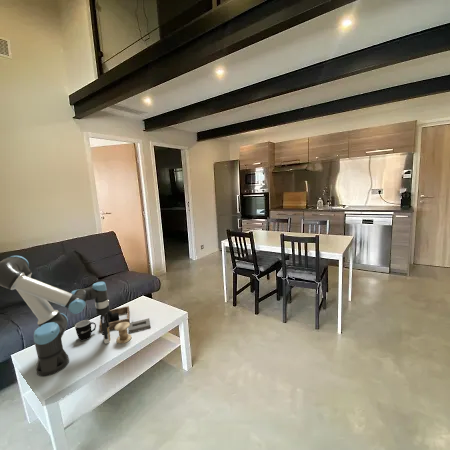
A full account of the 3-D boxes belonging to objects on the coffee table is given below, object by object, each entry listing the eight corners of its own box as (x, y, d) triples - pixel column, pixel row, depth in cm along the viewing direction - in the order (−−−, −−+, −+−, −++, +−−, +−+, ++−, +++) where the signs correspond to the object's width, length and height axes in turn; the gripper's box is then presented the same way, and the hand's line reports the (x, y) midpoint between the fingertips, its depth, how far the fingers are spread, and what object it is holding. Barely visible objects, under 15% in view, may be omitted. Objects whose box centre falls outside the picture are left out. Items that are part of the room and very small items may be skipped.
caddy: (100, 332, 173) (99, 325, 172) (103, 317, 192) (102, 311, 191) (129, 325, 179) (128, 318, 178) (129, 311, 199) (128, 306, 198)
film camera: (118, 326, 179) (117, 314, 178) (104, 329, 176) (102, 317, 174) (119, 316, 193) (117, 305, 192) (105, 319, 190) (103, 308, 188)
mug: (79, 343, 162) (77, 329, 160) (75, 338, 168) (73, 324, 166) (99, 334, 170) (97, 320, 168) (94, 330, 176) (92, 316, 174)
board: (129, 333, 169) (128, 330, 169) (129, 325, 179) (128, 323, 178) (150, 327, 174) (150, 325, 174) (149, 320, 183) (149, 318, 183)
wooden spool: (116, 345, 157) (114, 331, 155) (116, 337, 165) (114, 323, 164) (131, 341, 160) (129, 327, 159) (131, 333, 168) (129, 320, 167)
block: (104, 342, 161) (103, 330, 160) (105, 339, 164) (103, 328, 163) (110, 340, 162) (108, 329, 161) (110, 338, 165) (108, 327, 164)
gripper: (107, 311, 152) (113, 346, 155) (110, 299, 169) (114, 330, 173) (94, 314, 149) (99, 350, 153) (97, 301, 167) (102, 333, 171)
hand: (107, 339), depth 163 cm, fingers open, 6 cm apart
